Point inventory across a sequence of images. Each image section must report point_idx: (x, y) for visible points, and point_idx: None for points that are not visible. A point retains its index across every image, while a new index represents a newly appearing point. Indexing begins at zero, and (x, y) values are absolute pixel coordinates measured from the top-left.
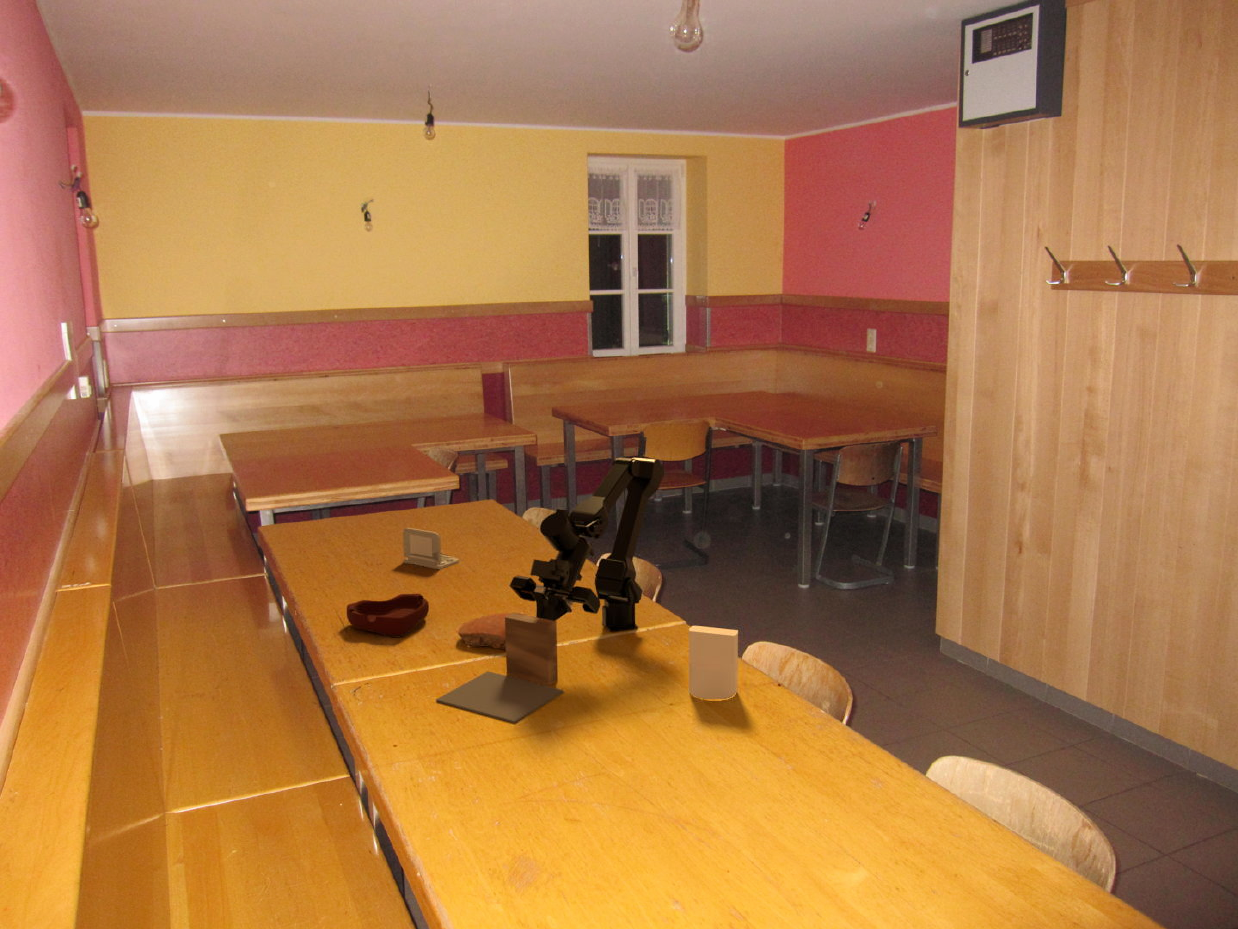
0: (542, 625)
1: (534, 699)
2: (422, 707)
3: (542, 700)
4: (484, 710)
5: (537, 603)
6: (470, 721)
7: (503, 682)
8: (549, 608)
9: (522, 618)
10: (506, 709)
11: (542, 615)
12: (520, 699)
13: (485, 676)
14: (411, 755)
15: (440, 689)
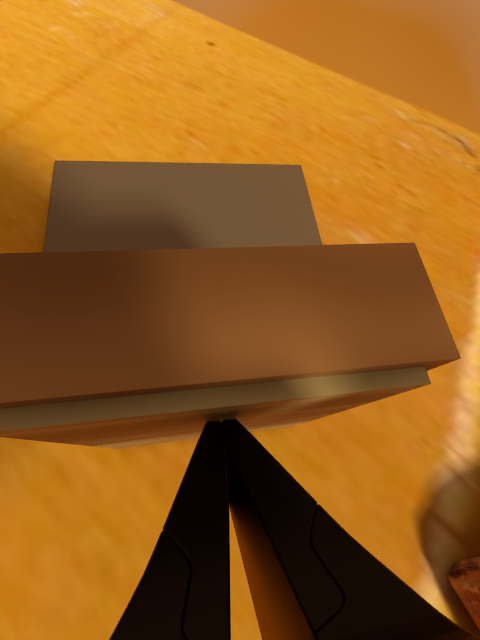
0: (26, 255)
1: None
2: (297, 142)
3: None
4: (162, 169)
5: (426, 621)
6: (161, 137)
7: None
8: (160, 633)
9: (293, 287)
10: (115, 193)
11: (258, 543)
12: (120, 249)
13: None
14: (160, 32)
15: (347, 214)
